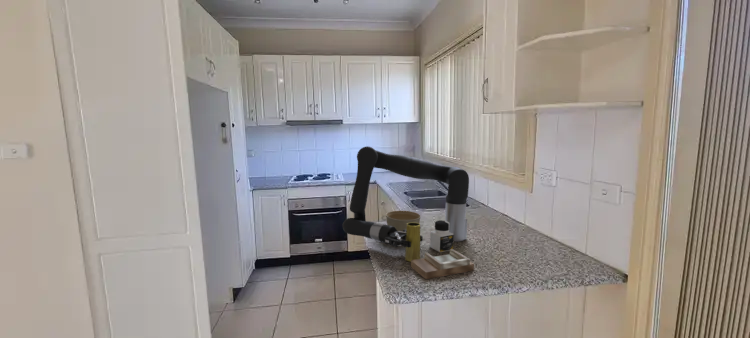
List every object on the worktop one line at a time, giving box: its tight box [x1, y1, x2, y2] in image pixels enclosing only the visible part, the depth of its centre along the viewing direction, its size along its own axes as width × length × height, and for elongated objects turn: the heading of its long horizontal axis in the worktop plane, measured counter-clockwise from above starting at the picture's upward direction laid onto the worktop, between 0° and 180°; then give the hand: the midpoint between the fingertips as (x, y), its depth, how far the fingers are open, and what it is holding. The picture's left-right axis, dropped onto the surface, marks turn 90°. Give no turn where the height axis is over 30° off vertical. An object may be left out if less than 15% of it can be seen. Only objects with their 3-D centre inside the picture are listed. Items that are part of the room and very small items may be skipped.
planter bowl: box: [385, 210, 421, 232], centre depth 157 cm, size 16×16×11 cm
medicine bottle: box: [429, 219, 454, 253], centre depth 143 cm, size 7×7×12 cm
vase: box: [404, 222, 421, 263], centre depth 131 cm, size 6×6×14 cm
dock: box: [410, 248, 475, 280], centre depth 123 cm, size 20×11×4 cm, turn 112°
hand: (416, 241), depth 130 cm, fingers open, 8 cm apart
